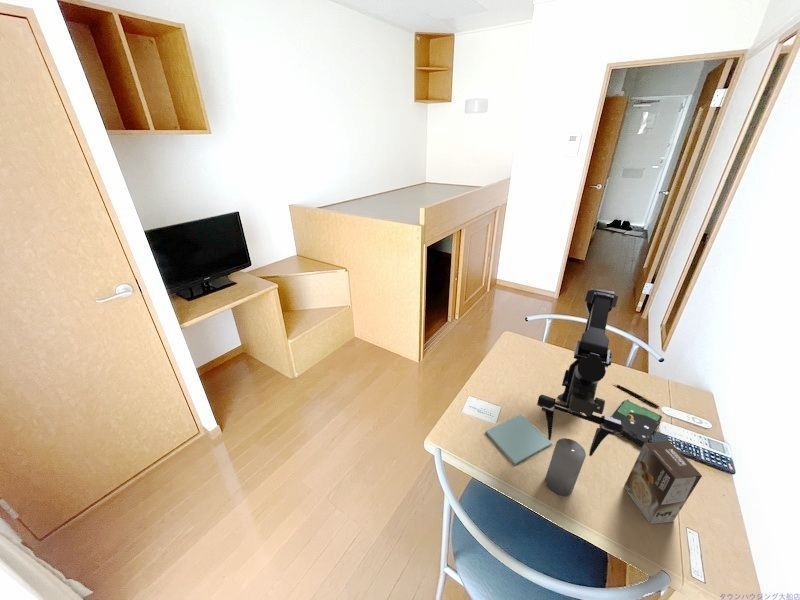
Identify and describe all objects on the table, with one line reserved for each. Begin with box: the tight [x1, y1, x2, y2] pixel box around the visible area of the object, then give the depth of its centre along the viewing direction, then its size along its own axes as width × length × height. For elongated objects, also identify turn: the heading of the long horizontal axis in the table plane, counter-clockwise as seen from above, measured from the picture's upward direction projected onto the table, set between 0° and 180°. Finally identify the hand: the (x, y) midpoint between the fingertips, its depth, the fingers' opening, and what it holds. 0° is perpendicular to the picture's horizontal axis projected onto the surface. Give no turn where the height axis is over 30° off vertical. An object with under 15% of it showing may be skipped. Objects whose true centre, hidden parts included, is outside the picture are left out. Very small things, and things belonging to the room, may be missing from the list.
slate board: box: [485, 413, 553, 466], centre depth 95 cm, size 14×12×1 cm
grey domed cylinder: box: [544, 437, 587, 498], centre depth 80 cm, size 6×6×13 cm
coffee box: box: [623, 440, 703, 525], centre depth 75 cm, size 9×6×16 cm
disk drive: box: [610, 398, 663, 448], centre depth 99 cm, size 10×3×15 cm
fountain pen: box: [613, 382, 660, 408], centre depth 110 cm, size 14×1×2 cm, turn 36°
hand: (569, 447), depth 81 cm, fingers open, 9 cm apart
